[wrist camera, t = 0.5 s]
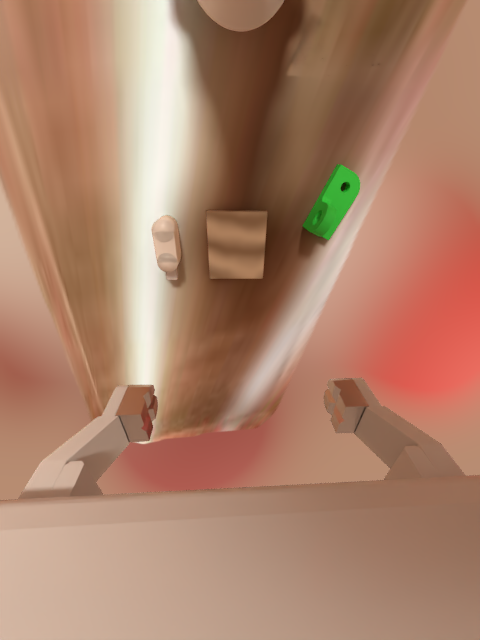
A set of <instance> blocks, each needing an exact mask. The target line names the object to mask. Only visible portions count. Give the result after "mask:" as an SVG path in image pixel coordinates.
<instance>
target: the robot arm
mask: <svg viewBox="0 0 480 640" xmlns="http://www.w3.org/2000/svg"><path fill="white" fill-rule="evenodd" d="M197 1H198V3H199V4H200V6H201V7H202V9H203V10H204V11H205V12H206V14H207V15H208V16H209V17H210V18H211V19H212V20H214V21H215V22H216V23H217V24H219V25H221V26H222V27H224V28H227V29H229V30H233V31H239V32H242V31H250V30H253V29H256V28H258V27H260V26H262V25H263V24H265V23H266V22H267V21H268V20H270V19H271V18H272V17H273V16H274V15H275V13H276V12H277V11H278V10H279V8H280V7H281V5H282V4H283V2H284V0H197ZM327 386H328V388H329V389H327V390H326V391H325V394H324V404H325V407H326V410H327V412H328V413H330V414H331V415H332V417H331V422H332V425H333V427H334V429H335V432H336V433H354V434H355V435H356V436H357V437H358V438H359V439H360V440H361V441H362V442H363V443H364V444H365V445H366V446H368V447H369V448H370V449H371V450H372V451H373V452H374V453H375V454H376V455H377V456H378V457H379V458H380V459H381V460H382V461H383V462H384V463H385V464H386V465H387V466H388V467H389V468H390V470H389V472H388V473H387V475H386V476H385V478H384V480H376V481H359V482H358V481H357V482H340V483H339V482H338V483H319V484H301V485H300V484H299V485H280V486H262V487H243V488H224V489H205V490H186V491H166V492H147V493H130V494H110V495H103V493H102V491H101V489H100V488H99V487H98V485H97V483H96V481H97V480H98V479H99V478H100V477H101V476H102V474H103V473H104V472H105V471H106V470H107V468H108V467H109V466H110V465H111V464H112V463H113V462H114V461H115V459H116V458H117V457H118V456H119V455H120V454H121V453H122V451H123V450H124V449H125V448H126V447H127V446H128V444H129V442H140V441H149V440H150V436H151V433H152V429H153V425H152V421H153V420H154V419H155V418H156V414H157V408H158V402H157V397H156V396H155V395H154V391H155V389H154V386H153V385H118V386H117V387H116V388H115V390H114V392H113V394H112V396H111V398H110V400H109V402H108V404H107V406H106V408H105V410H104V412H103V414H102V416H101V417H97V418H96V419H94V420H93V421H92V422H91V423H89V424H88V425H87V426H85V427H84V428H83V429H82V430H80V431H79V432H78V433H77V434H75V435H74V436H73V437H72V438H70V439H69V440H68V441H67V442H65V443H64V444H63V445H61V446H60V447H59V448H58V449H56V450H55V451H54V452H53V453H51V454H50V455H49V456H48V457H46V458H45V459H44V460H43V461H41V463H40V465H39V466H38V468H37V469H36V471H35V472H34V474H33V476H32V477H31V479H30V481H29V482H28V484H27V485H26V487H25V489H24V490H23V492H22V493H21V495H20V497H19V498H18V499H15V500H0V640H480V475H470V476H466V475H465V474H464V473H463V472H462V470H461V469H460V468H459V466H458V465H457V464H456V463H455V461H454V460H453V459H452V457H451V456H450V455H449V453H448V452H447V451H446V450H445V448H444V447H443V446H442V444H441V443H439V442H438V441H436V440H435V439H433V438H432V437H430V436H429V435H427V434H425V433H424V432H423V431H421V430H419V429H418V428H417V427H415V426H413V425H412V424H411V423H409V422H407V421H406V420H405V419H403V418H401V417H400V416H398V415H397V414H395V413H394V412H393V411H391V410H390V409H388V408H387V407H385V406H381V405H380V403H379V402H378V400H377V399H376V397H375V396H374V394H373V393H372V391H371V390H370V388H369V387H368V385H367V383H366V382H365V380H364V379H362V378H351V379H350V378H344V379H330V380H329V381H328V384H327Z"/></svg>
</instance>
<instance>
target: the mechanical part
mask: <svg viewBox="0 0 480 640" xmlns="http://www.w3.org/2000/svg"><path fill="white" fill-rule="evenodd" d="M344 182H345V183H346V188H345V189H344V190H343V191H341V185H342V184H343V183H344ZM359 189H360V180H359V178H358V176H357V175H356V174H355V173H354V172H352V171H351V170H349V169H347V168H346V167H344V166H343V165H337V166H336V167H335V169H334V171H333V173H332V175H331V176H330V178H329V180H328V182H327V183H326V185H325V187H324V189H323V191H322V192H321V194H320V196H319V198H318V199H317V201H316V203H315V205H314V206H313V208H312V210H311V212H310V214H309V215H308V217H307V219H306V221H305V222H304V224H303V227H304V228H305V229H307V230H308V231H309V232H311V233H313V234H315V235H317V236H319V237H320V236H321V237H323V238H325V239H327V240H329V239H330V238H331V236H332V234H333V233H334V231H335V230H336V228H337V226H338V225H339V223H340V222H341V220H342V219H343V217H344V215H345V214H346V212H347V211H348V209H349V208H350V206H351V204H352V203H353V201H354V200H355V198H356V197H357V195H358V193H359Z"/></svg>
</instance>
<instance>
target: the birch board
mask: <svg viewBox="0 0 480 640" xmlns="http://www.w3.org/2000/svg"><path fill="white" fill-rule="evenodd" d="M206 219H207V237H208V255H209V274H210V279H263V269H264V255H265V241H266V227H267V211H230V210H206Z"/></svg>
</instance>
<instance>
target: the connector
mask: <svg viewBox="0 0 480 640" xmlns="http://www.w3.org/2000/svg"><path fill="white" fill-rule="evenodd" d="M152 235H153V241H154V247H155V252H156V258H157V264H158V266H159V268H160V269H161V270H163V271H165V272H166V276H167V280H177V279H178V272H177V266H178V264H179V262H180V260H181V248H180V239H179V231H178V224H177V222H176V220H175V219H174V218H173V217H171V216H168V215H165V216H162V217H161V218H160V219H158V220H157V221H156V222H155V223H154V224H153V226H152Z"/></svg>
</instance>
